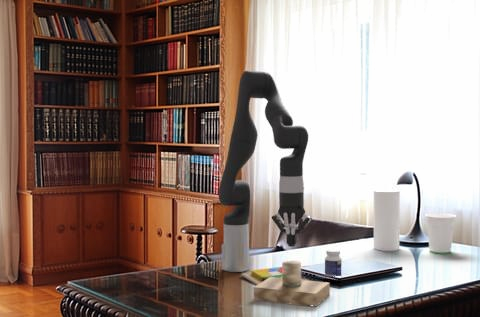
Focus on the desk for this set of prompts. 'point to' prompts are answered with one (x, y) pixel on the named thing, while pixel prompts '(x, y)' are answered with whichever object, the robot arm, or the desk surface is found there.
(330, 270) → the pill bottle
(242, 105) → the robot arm
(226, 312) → the desk surface
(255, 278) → the wooden puzzle
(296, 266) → the maple peg
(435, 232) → the cup
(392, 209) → the tall pillar cylinder
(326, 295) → the oak board
